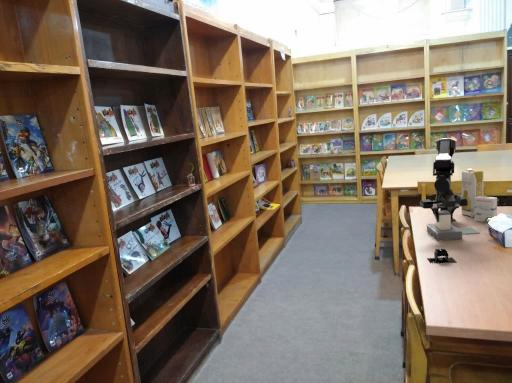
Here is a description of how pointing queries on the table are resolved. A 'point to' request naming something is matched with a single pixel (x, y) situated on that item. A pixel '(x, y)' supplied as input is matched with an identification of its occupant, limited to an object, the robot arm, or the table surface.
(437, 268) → the table surface
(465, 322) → the table surface
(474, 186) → the juice carton
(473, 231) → the mat
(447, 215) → the plug
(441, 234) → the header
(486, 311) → the table surface
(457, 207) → the robot arm
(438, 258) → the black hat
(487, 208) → the ink box
